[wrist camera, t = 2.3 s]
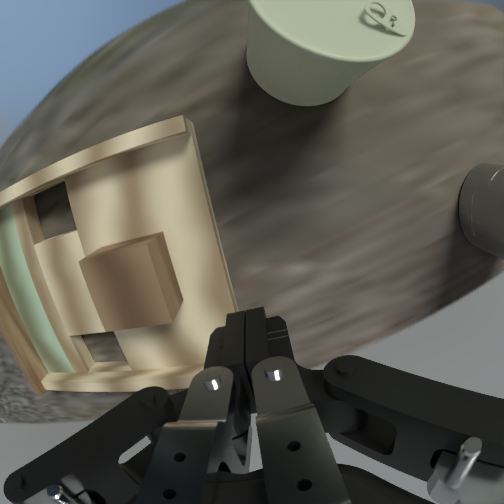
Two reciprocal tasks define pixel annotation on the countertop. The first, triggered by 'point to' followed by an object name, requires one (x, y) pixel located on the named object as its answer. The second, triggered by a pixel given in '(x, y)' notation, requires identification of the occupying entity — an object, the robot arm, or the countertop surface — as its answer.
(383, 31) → the can
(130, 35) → the countertop surface
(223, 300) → the board
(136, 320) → the block
